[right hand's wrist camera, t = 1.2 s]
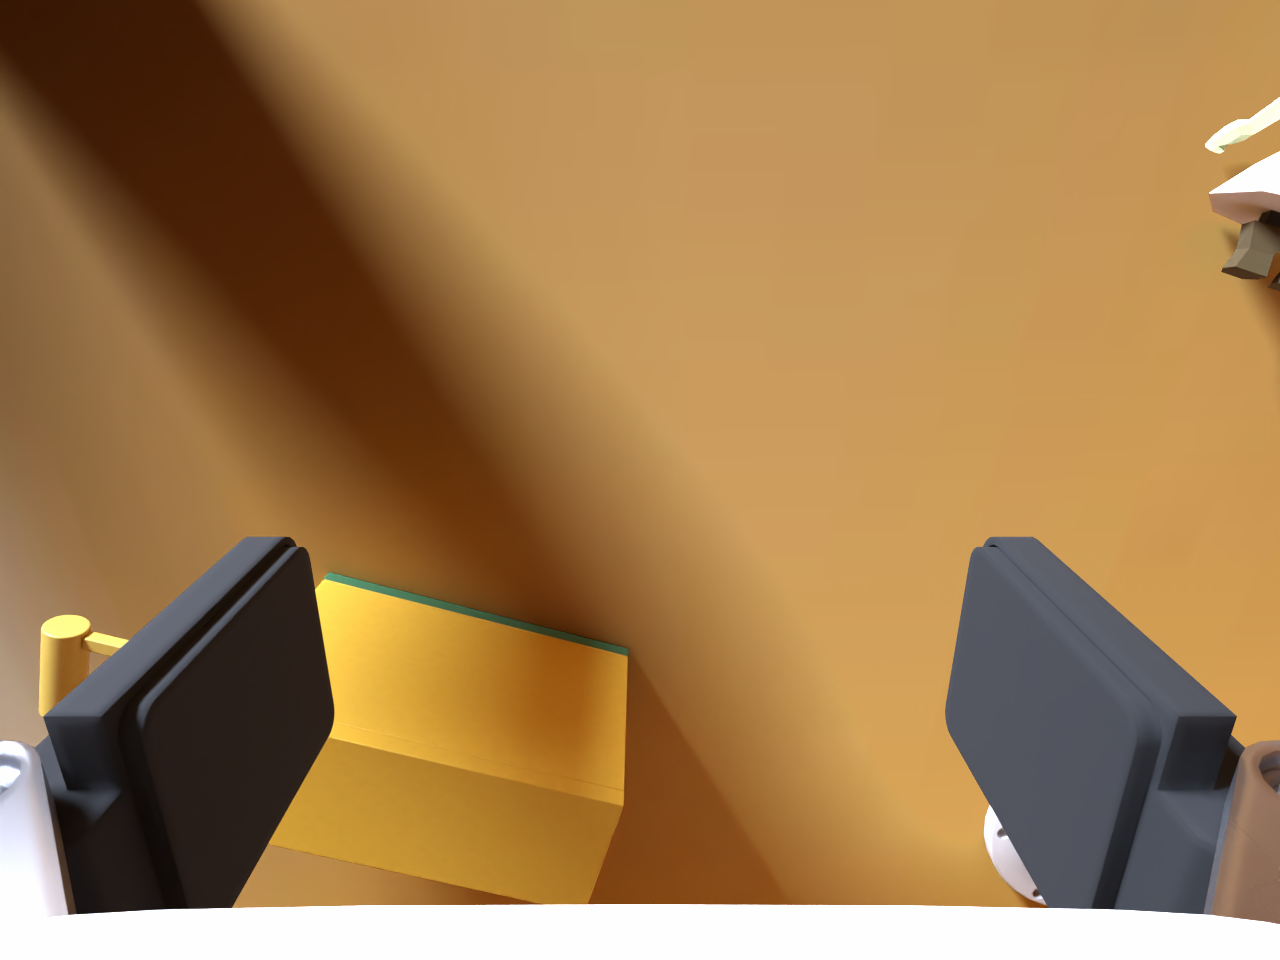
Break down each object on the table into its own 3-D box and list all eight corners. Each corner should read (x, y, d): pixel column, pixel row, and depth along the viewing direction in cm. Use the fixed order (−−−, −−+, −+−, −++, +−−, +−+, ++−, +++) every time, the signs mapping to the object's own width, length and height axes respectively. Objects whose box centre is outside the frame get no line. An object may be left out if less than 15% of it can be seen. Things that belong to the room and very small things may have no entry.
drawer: (135, 628, 41) (-8, 753, 32) (142, 545, 39) (-8, 652, 30) (529, 723, 43) (499, 866, 34) (551, 648, 41) (526, 778, 32)
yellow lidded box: (311, 668, 43) (201, 830, 32) (328, 572, 41) (216, 710, 30) (598, 738, 44) (584, 914, 34) (628, 648, 42) (624, 805, 32)
